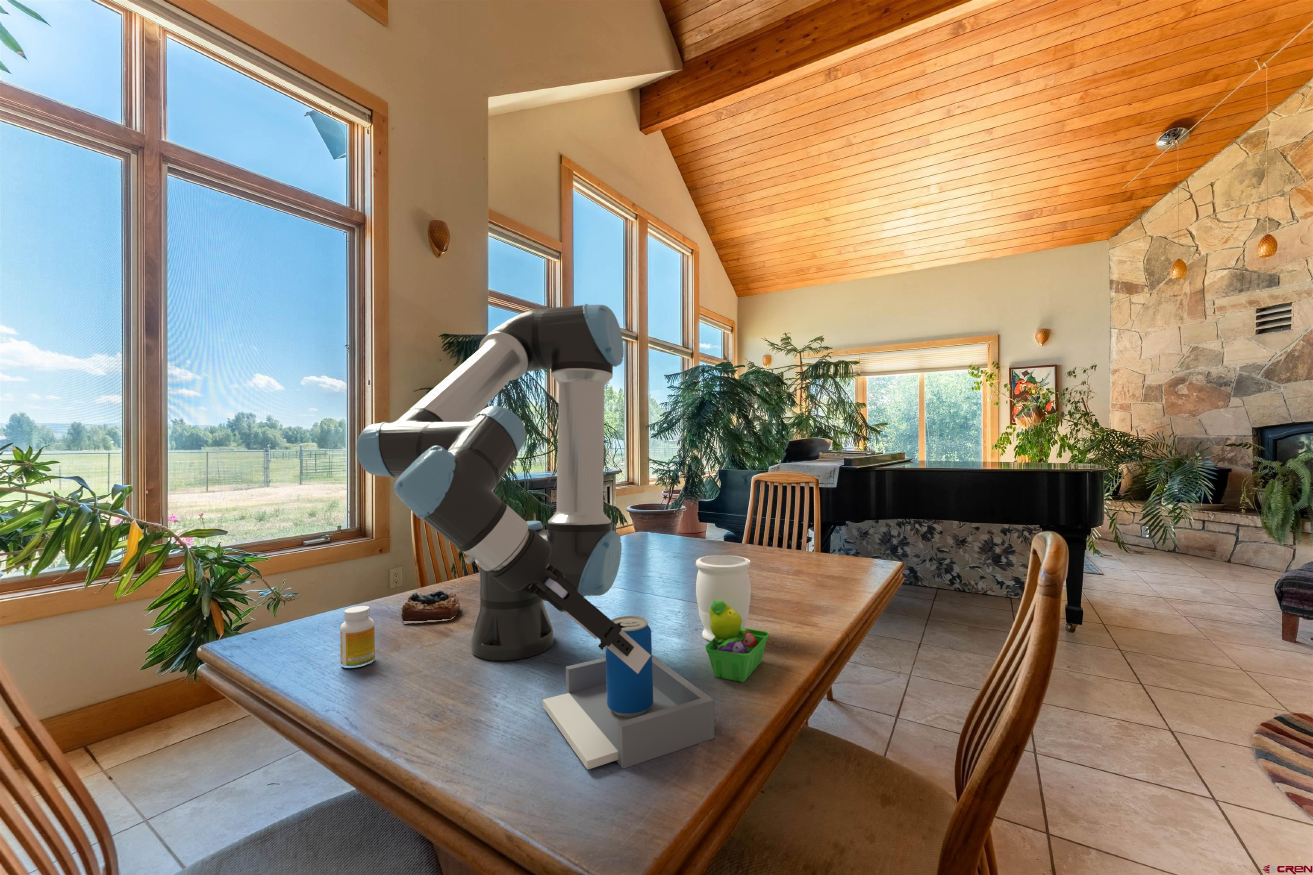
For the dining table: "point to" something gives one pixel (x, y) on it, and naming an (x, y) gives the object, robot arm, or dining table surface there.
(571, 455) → the robot arm
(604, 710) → the tray
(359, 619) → the supplement bottle
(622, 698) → the beverage can
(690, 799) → the dining table surface
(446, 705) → the dining table surface
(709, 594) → the jar
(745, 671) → the fruit basket
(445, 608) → the pastry
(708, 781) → the dining table surface
